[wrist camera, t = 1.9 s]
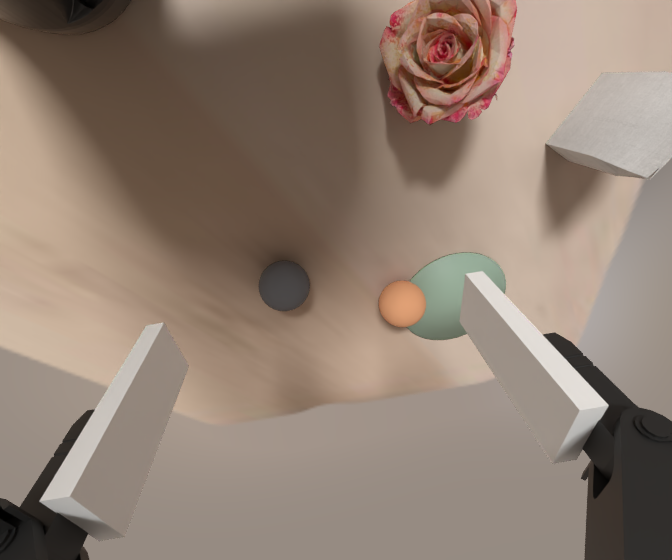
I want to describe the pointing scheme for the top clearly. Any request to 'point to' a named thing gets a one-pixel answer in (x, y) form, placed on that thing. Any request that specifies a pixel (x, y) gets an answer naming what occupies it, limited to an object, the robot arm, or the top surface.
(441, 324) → the green plate
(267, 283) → the dark grey ball
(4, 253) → the top surface
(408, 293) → the object ball
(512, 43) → the flower
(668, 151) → the white paper snack bag
